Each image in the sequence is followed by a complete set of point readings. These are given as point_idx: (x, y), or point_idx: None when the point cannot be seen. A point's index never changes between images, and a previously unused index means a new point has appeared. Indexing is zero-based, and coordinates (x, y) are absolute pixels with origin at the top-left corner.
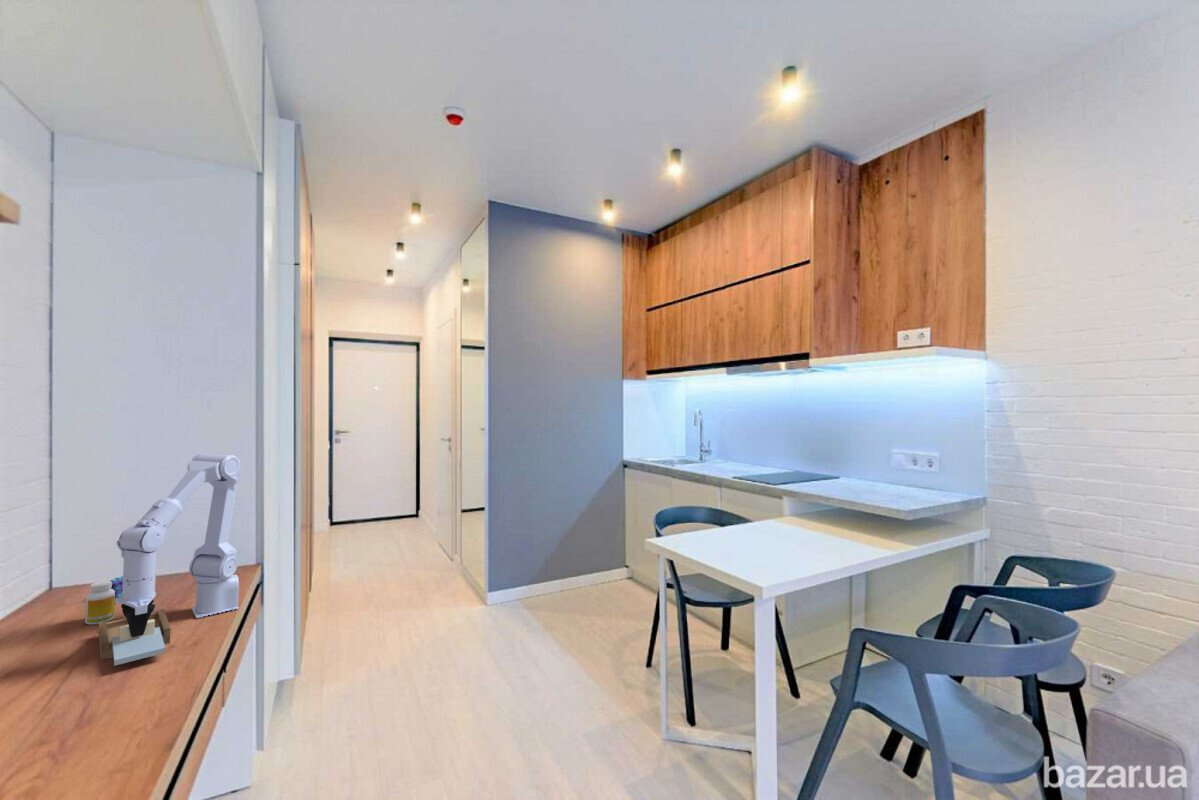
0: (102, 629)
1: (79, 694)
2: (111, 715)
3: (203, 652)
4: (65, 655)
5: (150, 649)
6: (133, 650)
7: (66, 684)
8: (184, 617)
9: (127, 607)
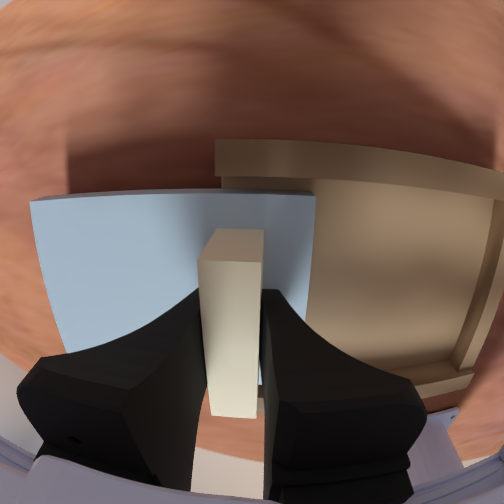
0: (458, 172)
1: (3, 114)
2: None
3: None
4: (387, 43)
5: (68, 320)
6: (80, 271)
7: (79, 57)
8: None
9: (278, 431)
